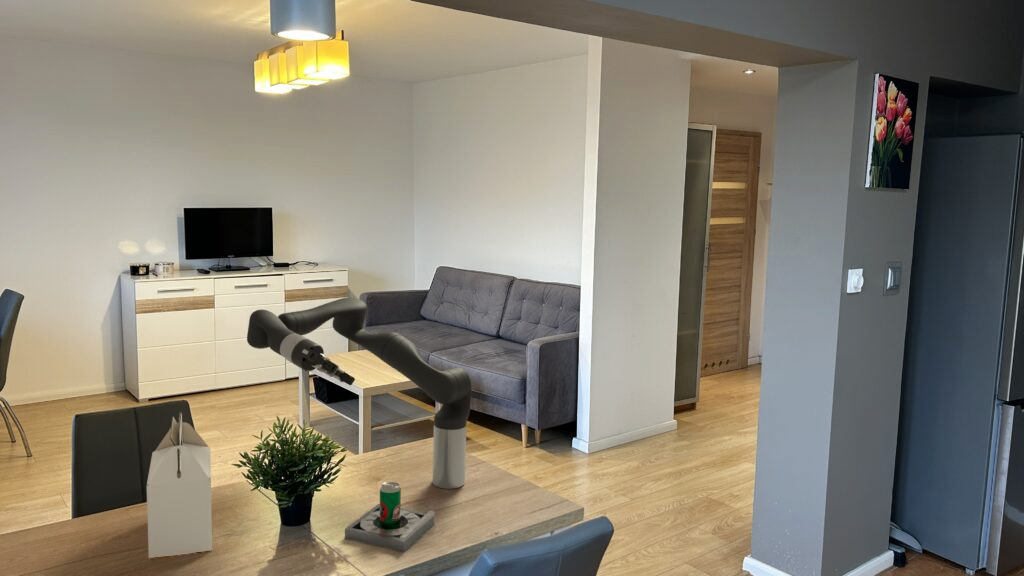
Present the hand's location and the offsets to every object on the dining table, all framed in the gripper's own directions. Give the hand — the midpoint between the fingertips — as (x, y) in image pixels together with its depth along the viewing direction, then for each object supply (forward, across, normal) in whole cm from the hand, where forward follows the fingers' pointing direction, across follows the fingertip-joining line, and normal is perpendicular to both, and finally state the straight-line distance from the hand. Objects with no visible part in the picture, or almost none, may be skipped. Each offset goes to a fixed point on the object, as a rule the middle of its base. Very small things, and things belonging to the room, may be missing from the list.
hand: (344, 375), depth 199 cm
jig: (+26, +16, +26) cm, 40 cm away
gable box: (-11, -4, +52) cm, 53 cm away
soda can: (+26, +16, +26) cm, 40 cm away
